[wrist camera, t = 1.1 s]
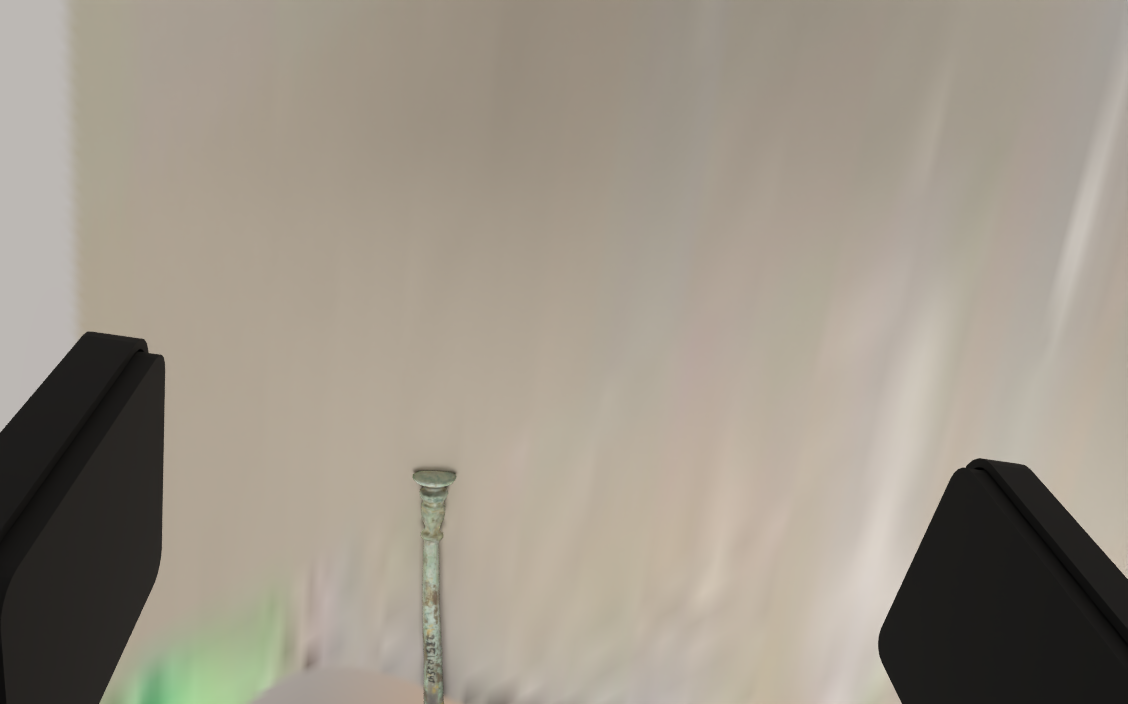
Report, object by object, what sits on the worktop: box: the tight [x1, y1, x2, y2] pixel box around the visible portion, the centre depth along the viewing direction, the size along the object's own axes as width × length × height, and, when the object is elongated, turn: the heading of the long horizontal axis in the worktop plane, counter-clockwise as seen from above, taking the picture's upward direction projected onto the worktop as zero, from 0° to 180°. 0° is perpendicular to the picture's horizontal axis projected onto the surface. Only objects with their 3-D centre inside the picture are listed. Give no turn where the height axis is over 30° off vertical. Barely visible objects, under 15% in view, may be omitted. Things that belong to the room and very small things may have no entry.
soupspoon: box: [413, 471, 456, 704], centre depth 44 cm, size 22×3×7 cm
